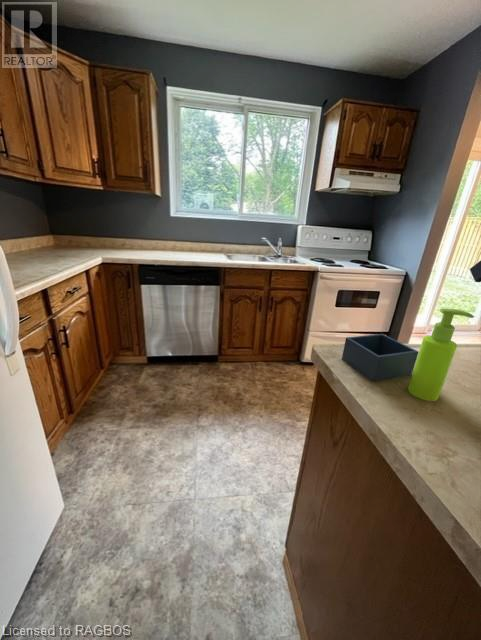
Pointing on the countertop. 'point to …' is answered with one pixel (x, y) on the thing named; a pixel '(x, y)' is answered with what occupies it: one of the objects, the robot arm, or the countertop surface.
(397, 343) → the box
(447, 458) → the countertop surface
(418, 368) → the soap dispenser
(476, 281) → the robot arm
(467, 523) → the countertop surface
